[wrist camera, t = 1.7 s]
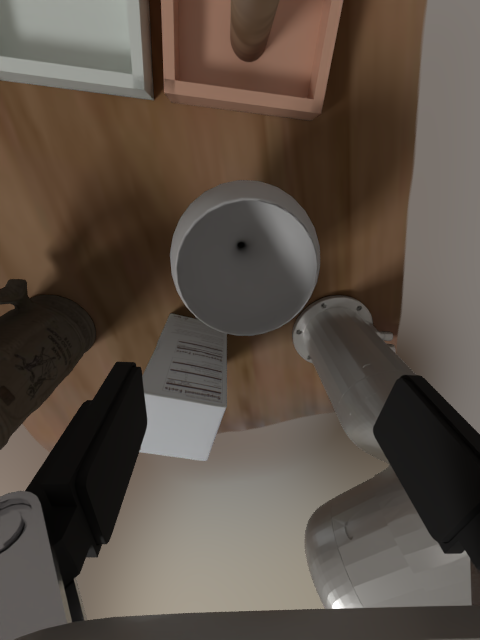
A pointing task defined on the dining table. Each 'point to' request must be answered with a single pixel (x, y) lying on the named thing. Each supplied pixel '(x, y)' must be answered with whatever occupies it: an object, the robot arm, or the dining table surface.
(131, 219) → the dining table surface
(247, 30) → the walnut peg
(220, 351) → the supplement box
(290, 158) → the dining table surface
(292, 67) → the terracotta tub
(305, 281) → the chalice
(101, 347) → the dining table surface
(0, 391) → the beer stein
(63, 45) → the grey tub
